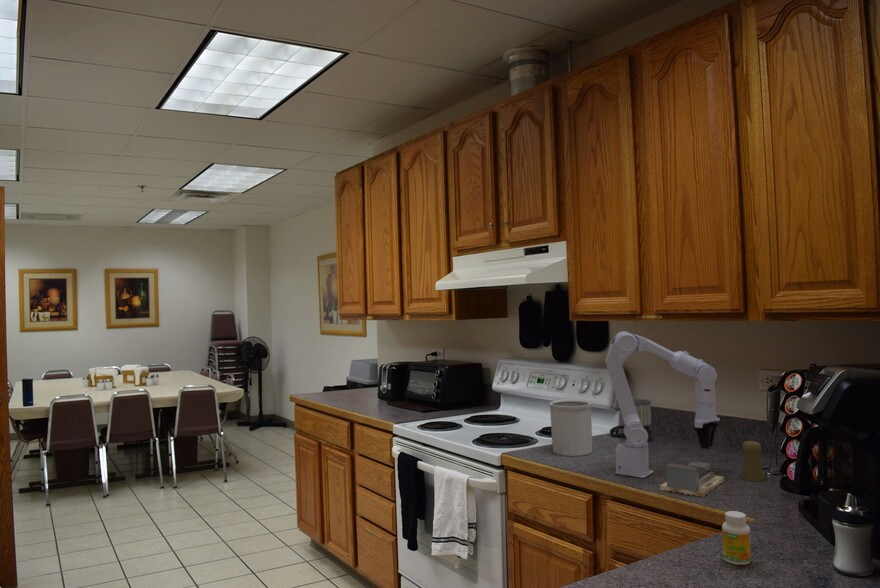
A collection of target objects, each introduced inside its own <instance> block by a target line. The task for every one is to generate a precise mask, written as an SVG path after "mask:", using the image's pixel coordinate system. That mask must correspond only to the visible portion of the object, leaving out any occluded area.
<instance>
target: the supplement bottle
mask: <svg viewBox="0 0 880 588" xmlns="http://www.w3.org/2000/svg"><path fill="white" fill-rule="evenodd" d="M724 515H725V517H724V520H725V522H723V524H722V525H721V526H722V527H721V539H722V559H723V560H724V561H725V562H726V563H728V564H731V565H739V566H743V565H744V566H745V565H748V564H750V563H751V560H752V559H751V558H752V556H751V528H750V526H749V525H748V524H746V523H747V515H746V514H745V513H743V512H742V511H741V512H740V511H737V510H729V511H726V512H725V514H724Z"/></svg>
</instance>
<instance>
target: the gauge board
mask: <svg viewBox="0 0 880 588" xmlns="http://www.w3.org/2000/svg"><path fill="white" fill-rule="evenodd" d="M723 481H724V482H725V476H723V475H716V472H709V473H708V474H707V475H705V476H704V477H702V478H701V479H699V490H697V491H696V492H694V491H688V490H682V489H677V488H671V487H667V480H666V481H665V482H663V483H662V484H660V485H659V490H660V491H664V490H665V492H669V491H672V492H671V493H675V492H678V493H677V494H681V493H684V494H683V495H687V494H690V495H689V496H692V495H695V496H694V497H698V496H701V497H700V498H705V495H706V494H707V495H708V494H710V493H711V492H712V491H713V490H714V488H715V487H716V486H717V485H718V486H720V485H721V484H723ZM720 483H721V484H720ZM719 484H720V485H719ZM718 486H717V487H718ZM717 487H716V488H717ZM716 488H715V489H716ZM711 490H712V491H711ZM710 491H711V492H710ZM709 492H710V493H709ZM707 495H706V496H707Z"/></svg>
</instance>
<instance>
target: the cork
mask: <svg viewBox="0 0 880 588" xmlns="http://www.w3.org/2000/svg"><path fill="white" fill-rule="evenodd" d="M741 447H742V451H743V452H744V453H743V460H742V461H743V462H742V463H743V464H742V469H741V470H742V471H741V479H742V480H745V481H748V482H762V481H761V480H763V479H764V480H765V478H764V472H763V471H764V470H763V466H762V465H763V464H762V459H761V453H762V445H761V443H760V442H758V441H755V440H746V441H744V442H742V445H741ZM764 480H763V481H764Z"/></svg>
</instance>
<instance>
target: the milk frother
mask: <svg viewBox="0 0 880 588" xmlns="http://www.w3.org/2000/svg"><path fill="white" fill-rule="evenodd" d="M633 401H634V404H635V408H636V411H637V414H638V416H639V419H640V422H641V424H642V425H643V427H644V429H645V430H646V431H647V433H648V440H647V442H646V443H650V442H652V441H653V440H654V439H653V434H652V409H651V408H652V407H651V403H652V401H651V400H649V399H645V398H644V399H643V398H642V399H641V398H636V399H635V398H633ZM620 430H624V425H622V424H621V425H615V426H613V427H612V428H610V430H609V434H610V435H611V436H612V437H616V438H622V437H626V436H625V434H624V432H623V433H619V431H620Z"/></svg>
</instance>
